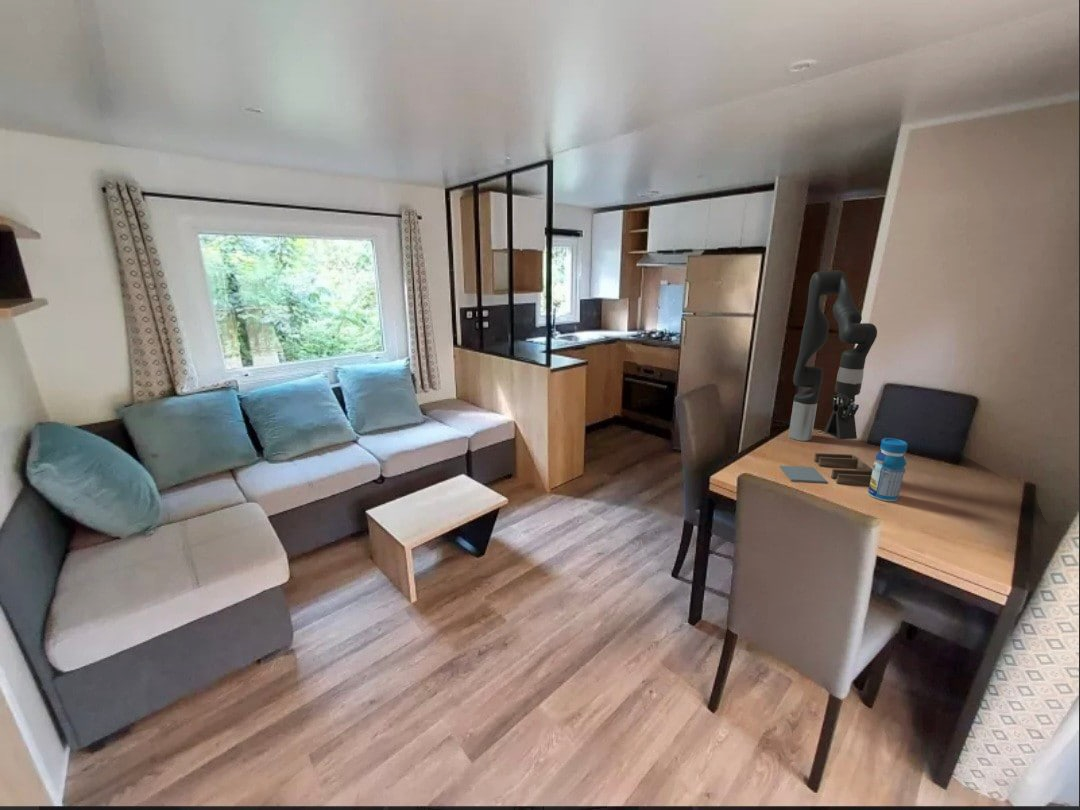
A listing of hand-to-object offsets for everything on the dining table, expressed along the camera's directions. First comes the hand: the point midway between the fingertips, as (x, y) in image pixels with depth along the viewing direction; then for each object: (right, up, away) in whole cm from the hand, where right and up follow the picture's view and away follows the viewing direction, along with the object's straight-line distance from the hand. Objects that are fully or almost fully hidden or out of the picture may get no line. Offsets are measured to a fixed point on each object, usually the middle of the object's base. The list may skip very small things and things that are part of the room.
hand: (840, 425), depth 160 cm
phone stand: (0, -4, +1) cm, 4 cm away
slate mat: (-11, -19, +5) cm, 22 cm away
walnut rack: (+5, -18, +6) cm, 20 cm away
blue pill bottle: (+6, -24, -11) cm, 27 cm away
